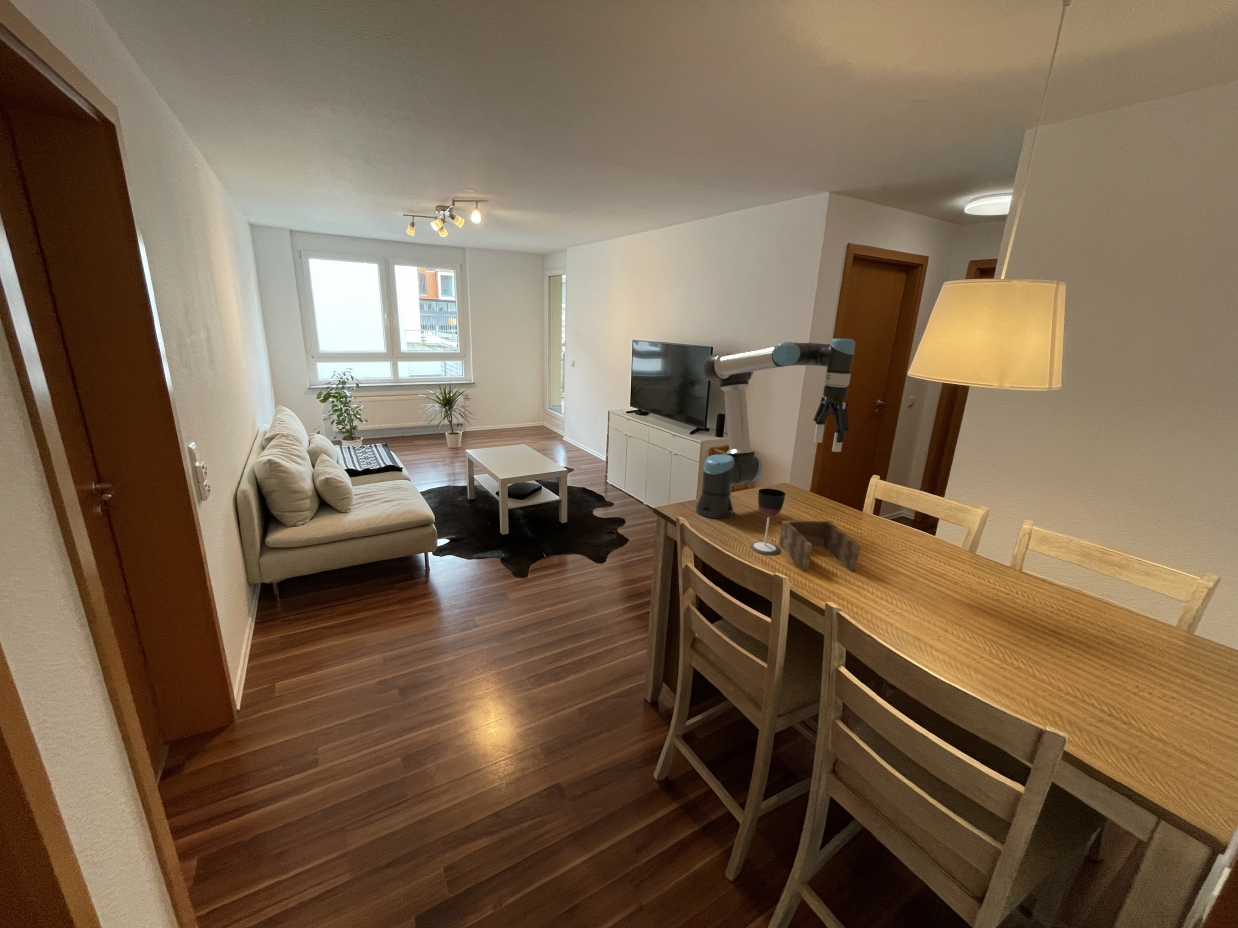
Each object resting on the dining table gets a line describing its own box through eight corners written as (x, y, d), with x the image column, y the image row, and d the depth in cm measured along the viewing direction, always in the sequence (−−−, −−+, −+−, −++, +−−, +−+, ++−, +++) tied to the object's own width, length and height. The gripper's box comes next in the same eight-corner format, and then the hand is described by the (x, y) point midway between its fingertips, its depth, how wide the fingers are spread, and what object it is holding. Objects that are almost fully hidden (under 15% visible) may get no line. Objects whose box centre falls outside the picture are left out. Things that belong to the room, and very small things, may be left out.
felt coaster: (746, 542, 176) (746, 541, 176) (774, 542, 177) (774, 541, 176) (756, 554, 166) (756, 553, 166) (785, 555, 167) (785, 554, 167)
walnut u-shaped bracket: (779, 544, 176) (782, 520, 173) (825, 544, 177) (829, 521, 175) (803, 570, 156) (807, 544, 154) (855, 571, 158) (860, 545, 155)
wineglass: (780, 552, 168) (788, 496, 163) (755, 551, 168) (762, 495, 163) (773, 542, 176) (781, 489, 170) (749, 541, 176) (756, 487, 170)
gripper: (809, 381, 179) (801, 438, 184) (844, 389, 155) (833, 455, 160) (829, 382, 179) (820, 439, 185) (867, 390, 155) (856, 456, 161)
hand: (826, 446), depth 173 cm, fingers open, 13 cm apart
